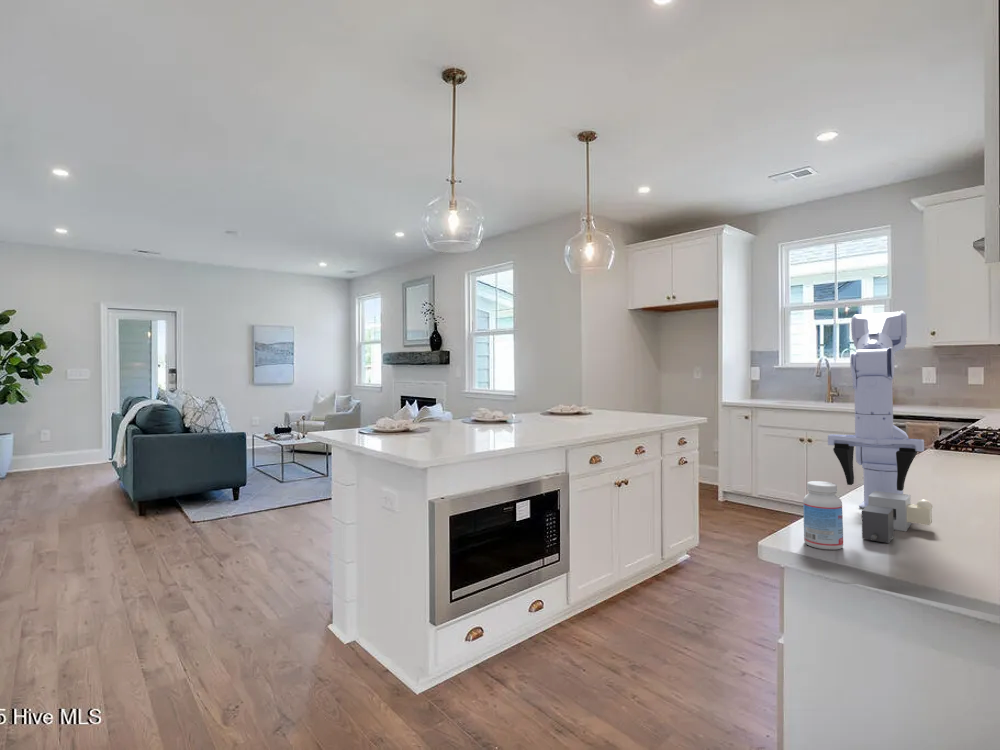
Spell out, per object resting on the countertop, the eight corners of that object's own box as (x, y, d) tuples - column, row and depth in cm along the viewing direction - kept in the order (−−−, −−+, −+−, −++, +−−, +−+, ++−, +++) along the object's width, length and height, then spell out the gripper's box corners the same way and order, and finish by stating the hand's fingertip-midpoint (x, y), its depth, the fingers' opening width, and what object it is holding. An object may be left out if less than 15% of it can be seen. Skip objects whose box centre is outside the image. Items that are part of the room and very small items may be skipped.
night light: (909, 518, 106) (909, 496, 106) (933, 522, 104) (933, 499, 104) (907, 522, 104) (906, 499, 104) (931, 525, 101) (931, 502, 101)
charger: (870, 529, 104) (870, 502, 104) (896, 533, 101) (895, 506, 101) (860, 540, 97) (859, 512, 97) (886, 545, 95) (886, 516, 95)
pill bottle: (849, 551, 93) (848, 487, 93) (811, 550, 94) (809, 486, 94) (834, 540, 99) (833, 480, 99) (799, 539, 100) (797, 479, 100)
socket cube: (875, 519, 112) (874, 490, 112) (910, 524, 107) (910, 494, 107) (868, 525, 107) (868, 495, 107) (906, 531, 103) (905, 500, 103)
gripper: (822, 413, 101) (824, 485, 101) (919, 416, 91) (921, 496, 91) (832, 411, 106) (834, 479, 106) (925, 413, 96) (926, 489, 96)
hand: (874, 486), depth 99 cm, fingers open, 7 cm apart
